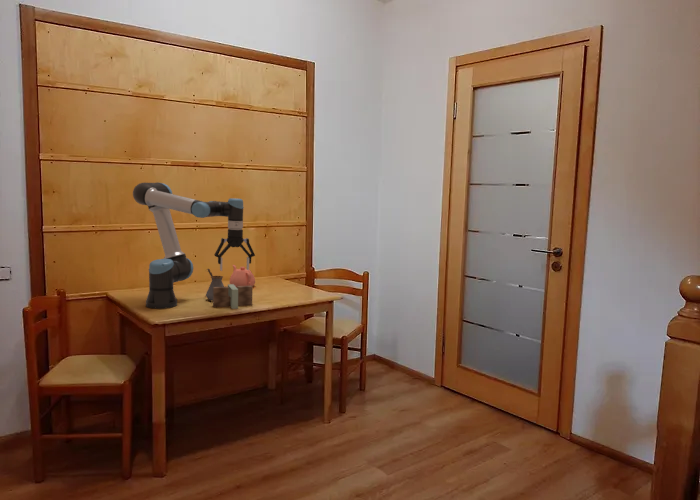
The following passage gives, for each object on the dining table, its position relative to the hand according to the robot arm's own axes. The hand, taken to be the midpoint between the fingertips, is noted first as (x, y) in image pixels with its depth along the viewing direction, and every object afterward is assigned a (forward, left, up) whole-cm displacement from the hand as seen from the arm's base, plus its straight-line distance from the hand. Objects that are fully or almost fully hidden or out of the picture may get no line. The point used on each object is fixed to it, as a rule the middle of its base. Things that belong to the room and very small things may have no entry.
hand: (234, 270), depth 271 cm
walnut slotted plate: (0, +5, -20) cm, 20 cm away
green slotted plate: (0, +5, -20) cm, 20 cm away
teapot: (+14, +54, -20) cm, 59 cm away
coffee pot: (-7, +25, -20) cm, 32 cm away
